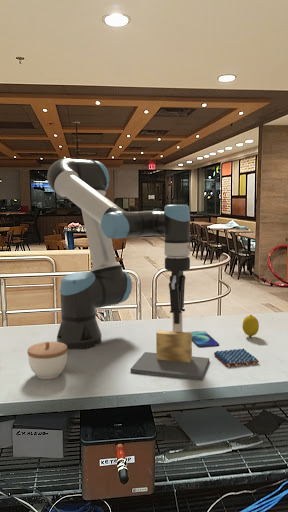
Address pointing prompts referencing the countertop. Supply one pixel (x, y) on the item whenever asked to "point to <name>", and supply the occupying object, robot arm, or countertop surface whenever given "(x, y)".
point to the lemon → (250, 325)
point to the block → (174, 346)
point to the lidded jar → (47, 359)
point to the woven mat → (235, 357)
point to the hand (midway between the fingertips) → (177, 332)
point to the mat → (171, 367)
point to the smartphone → (203, 339)
